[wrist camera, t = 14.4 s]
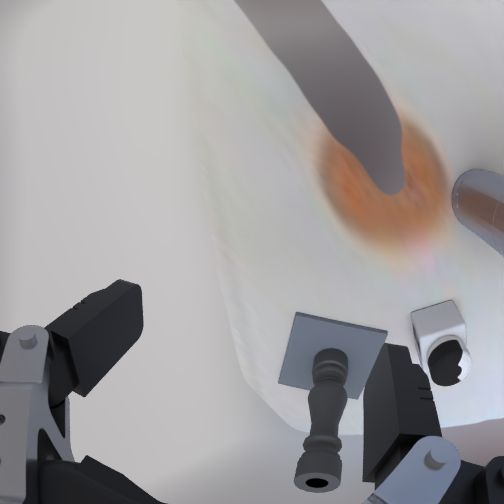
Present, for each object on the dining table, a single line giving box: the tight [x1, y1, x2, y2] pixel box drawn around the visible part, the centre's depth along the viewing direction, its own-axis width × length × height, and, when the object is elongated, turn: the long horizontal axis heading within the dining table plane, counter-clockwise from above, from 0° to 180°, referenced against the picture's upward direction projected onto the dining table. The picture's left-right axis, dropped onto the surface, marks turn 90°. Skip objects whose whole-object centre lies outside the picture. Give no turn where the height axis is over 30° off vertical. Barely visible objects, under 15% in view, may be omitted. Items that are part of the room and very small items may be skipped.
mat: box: [278, 312, 388, 399], centre depth 53 cm, size 16×16×1 cm
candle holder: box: [294, 348, 348, 493], centre depth 41 cm, size 6×6×25 cm
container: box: [411, 300, 472, 386], centre depth 41 cm, size 8×8×13 cm
